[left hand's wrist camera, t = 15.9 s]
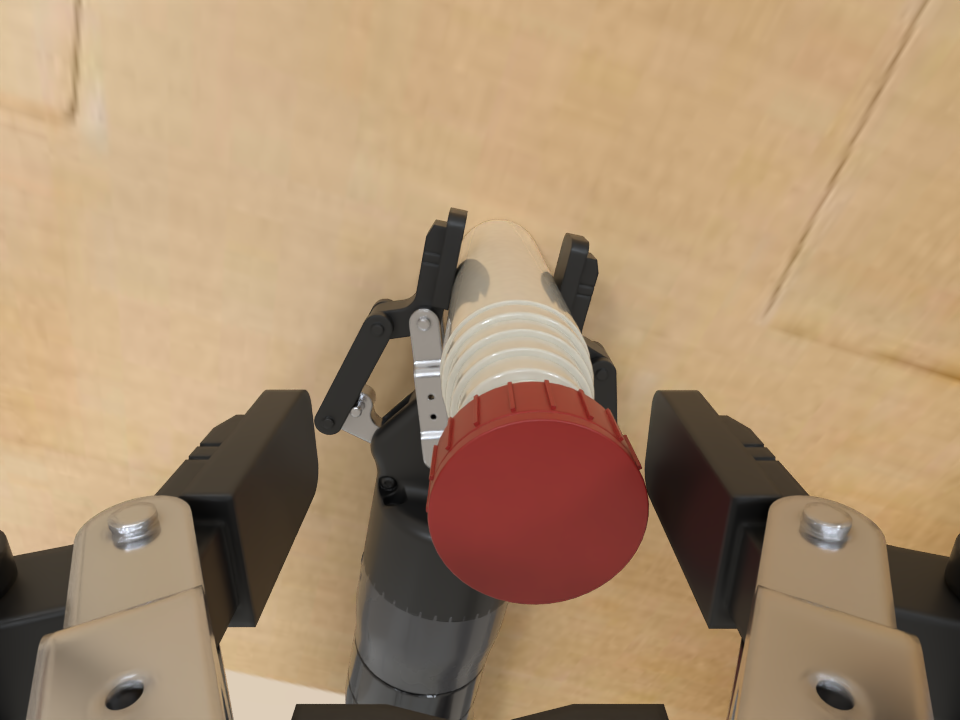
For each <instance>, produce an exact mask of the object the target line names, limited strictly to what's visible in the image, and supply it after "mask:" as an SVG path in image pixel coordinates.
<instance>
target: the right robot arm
mask: <svg viewBox="0 0 960 720" xmlns="http://www.w3.org/2000/svg"><path fill="white" fill-rule="evenodd" d="M467 212H468V211H465V210H460V209H456V208H451V209H450V212H449V216H448V221H447V222H445V221H441V220H435V222H434V224H433V225H432V227H431V228H430V230H429V232H428V234H427V236H426V241H425V246H424V252H423V258H422V263H421V269H420V275H419V280H418V286H417V292H416V293H415V294H414V295H413V296H412V297H410V298H408V299H405V300H398V301H392V300H390V299H381V300H379V301H377V302H376V303H375V304H374V306H373V308H372V310H371V312H370V313H369V315H368V317H367V318H366V320H365V321H364V323H363V325H362V327H361V329H360V331H359V333H358V335H357V337H356V339H355V341H354V343H353V345H352V346H351V348H350V350H349V352H348V354H347V356H346V358H345V360H344V362H343V364H342V366H341V368H340V370H339V372H338V373H337V375H336V377H335V379H334V381H333V383H332V385H331V387H330V389H329V391H328V393H327V395H326V397H325V399H324V401H323V402H322V404H321V406H320V408H319V410H318V412H317V414H316V416H315V419H314V423H315V426H316V428H317V429H318V430H319V431H320V432H321V433H324V434H327V435H333V434H336V433H338V432H339V431H340V430H341V429H342V430H344V431H346V432H348V433H350V434H352V435H354V436H356V437H358V438H360V439H363V440H365V441H367V442H369V443H371V452H372V455H373V457H374V459H375V462H376V465H377V479H376V485H375V490H374V496H373V502H372V508H371V514H370V520H369V525H368V531H367V537H366V543H365V549H364V552H363V555H362V560H361V562H362V566H361V571H360V577H359V583H358V589H357V597H356V629H355V634H354V640H353V646H352V651H351V657H350V663H349V669H348V675H347V682H346V704H388V705H392V706H396V707H400V708H404V709H408V710H412V711H416V712H420V713H424V714H428V715H432V716H436V717H440V718H444V719H448V720H474V710H473V703H474V700H475V697H476V693H477V690H478V687H479V683H480V680H481V676H482V673H483V669H484V666H485V662H486V659H487V656H488V654H489V652H490V650H491V648H492V646H493V644H494V642H495V640H496V638H497V635H498V633H499V630H500V627H501V624H502V621H503V618H504V615H505V611H506V608H507V605H508V602H507V601H503V600H499V599H496V598H493V597H490V596H488V595H485V594H483V593H481V592H479V591H477V590H475V589H473V588H471V587H470V586H468V585H467V584H465V583H464V582H462V581H461V580H460V579H459V578H458V577H457V576H455V575H454V574H453V573H452V572H451V571H450V569H449V568H448V567H447V566H446V565H445V564H444V562H443V561H442V559H441V558H440V556H439V555H438V553H437V551H436V549H435V547H434V544H433V542H432V539H431V535H430V532H429V526H428V512H426V504H427V497H428V490H429V482H430V480H429V475H430V467H431V460H432V453H433V447H434V445H438V442H439V439H440V437H441V435H442V433H443V431H444V429H445V428H446V426H447V424H448V415H447V411H446V406H445V404H444V400H443V397H442V390H441V378H440V363H441V357H442V351H443V344H444V338H445V326H444V316H443V311H444V309H445V310H448V309H449V304H450V299H451V293H452V288H453V284H454V279H455V274H456V269H457V264H458V259H459V254H460V249H461V244H462V239H463V234H464V229H465V224H466V218H467ZM588 251H589V242H588V241H587V240H586V239H585V238H584V237H583V236H579V235H574V234H570V233H566V234H565V237H564V239H563V243H562V247H561V250H560V254H559V258H558V262H557V266H556V269H555V273H554V277H553V278H554V280H555V282H556V284H557V286H558V288H559V290H560V292H561V294H562V296H563V298H564V300H565V302H566V304H567V306H568V308H569V310H570V312H571V314H572V316H573V318H574V320H575V322H576V324H577V326H578V328H579V330H580V332H581V334H582V329H583V325H584V322H585V318H586V315H587V311H588V308H589V304H590V301H591V296H592V294H593V290H594V286H595V283H596V280H597V277H598V264H597V259H596V258H595V257H594V256H593V255H592V254H591V253H589V252H588ZM409 336H411V344H412V352H413V360H414V382H415V390H414V391H413V392H412V393H410V394H409V395H408V396H407V397H406V398H405V399H403V400H402V401H401V402H400V403H399V404H398V405H396V406H395V407H394V408H393V409H392V410H391V411H390V412H388V413H387V414H386V415H385V416H384V417H383V418H381V417H379V416H378V415H377V414H376V412H375V410H374V403H375V400H376V394H375V392H374V390H373V389H372V388H371V387H370V386H368V385H366V382H367V380H368V378H369V376H370V375H371V373H372V371H373V369H374V367H375V365H376V363H377V362H378V360H379V358H380V356H381V354H382V352H383V350H384V349H385V347H386V345H387V343H388V341H389V339H394V338H401V337H409ZM582 336H583V335H582ZM583 338H584V340H585V342H586V344H587V347H588V350H589V354H590V360H591V363H592V367H593V374H594V400H595V401H596V402H597V403H599V404H600V405H601V406H602V407H603V408H604V409H605V410H606V409H607V408H609V409H610V410H611V412H612V415H613V417H614V419H615V421H616V423H617V380H616V369H615V367H614V365H613V363H612V362H611V360H610V358H609V356H608V355H607V353H606V351H605V349H604V348H603V346H602V345H601V344H600V343H598V342H595V341H591V340H589V339H588V338H586V337H584V336H583Z"/></svg>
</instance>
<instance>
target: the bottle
mask: <svg viewBox="0 0 960 720" xmlns="http://www.w3.org/2000/svg"><path fill="white" fill-rule="evenodd" d="M440 378H441V390H442V397H443V400H444V404H445V406H446V411H447V415H448V419H449V417H452V418H453V417H454V416H455V415H456V414H457V413H458V412H459V410H461V409H462V408H463V407H464V406H465V405H467V404H468V403H469V402H470V401H472V400H473V399H474V396H475V395H478V396H480V395H482V394H484V393H486V392H488V391H490V390H492V389H495V388H498V387H501V386H504V385H508V384H507V382H512V384H513V383H518V382H531V381H535V382H544V380H549V383H555V384H560V385H563V386H567V387H570V388H573V389H575V390H577V391H578V390H579V389H582V390H583V391H584V393H585V395H587V396H589V397H590V398H592V399H594V374H593V367H592V363H591V360H590V354H589V350H588V347H587V344H586V342H585V340H584V338H583V336H582V334H581V332H580V330H579V328H578V326H577V324H576V322H575V320H574V318H573V316H572V314H571V312H570V310H569V308H568V306H567V304H566V302H565V300H564V298H563V296H562V294H561V292H560V290H559V288H558V286H557V284H556V282H555V280H554V278H553V276H552V275H551V273H550V271H549V269H548V267H547V265H546V263H545V261H544V259H543V257H542V255H541V253H540V251H539V249H538V247H537V245H536V243H535V241H534V239H533V238H532V236H531V235H530V234H529V233H528V231H526V230H525V229H524V228H523V227H521V226H520V225H518V224H516V223H514V222H511V221H507V220H499V219H498V220H490V221H486V222H483V223H481V224H479V225H477V226H476V227H474V228H473V229H472V230H471V231H469V232H468V234H467V235H466V236H465V237H464V239H463V240H462V244H461V249H460V254H459V259H458V264H457V269H456V274H455V279H454V284H453V288H452V293H451V300H450V306H449V312H448V319H447V325H446V331H445V338H444V344H443V351H442V357H441V363H440Z"/></svg>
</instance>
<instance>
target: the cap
mask: <svg viewBox="0 0 960 720" xmlns="http://www.w3.org/2000/svg"><path fill="white" fill-rule="evenodd" d="M507 384H508V385H504V386H501V387H498V388H495V389H492V390H490V391H488V392H486V393H484V394H482V395H480V396H478V395H475V396H474V399H473V400H472V401H470V402H469V403H468V404H467V405H465V406H464V407H463V408H462V409H461V410H459V412H458V413H457V414H456V415H455V416H454V417H453V418H452V417H449V419H448V424H447V426H446V428H445V429H444V431H443V433H442V435H441V437H440V439H439V442H438V445H434V447H433V453H432V460H431V467H430V475H429V480H430V482H429V490H428V497H427V504H426V512H428V526H429V532H430V535H431V539H432V542H433V544H434V547H435V549H436V551H437V553H438V555H439V556H440V558H441V559H442V561H443V562H444V564H445V565H446V566H447V567H448V568H449V569H450V571H451V572H452V573H453V574H454V575H455V576H457V577H458V578H459V579H460V580H461V581H462V582H464V583H465V584H467V585H468V586H470V587H471V588H473V589H475V590H477V591H479V592H481V593H483V594H485V595H488V596H490V597H493V598H496V599H499V600H503V601H507V602H512V603H519V604H550V603H556V602H562V601H566V600H569V599H573V598H576V597H579V596H581V595H584V594H586V593H589V592H591V591H593V590H595V589H596V588H598V587H600V586H602V585H603V584H605V583H606V582H608V581H609V580H611V579H612V578H613V577H614V576H615V575H616V574H618V573H619V572H620V571H621V570H622V569H623V568H624V567H625V566H626V564H627V563H628V562H629V561H630V560H631V558H632V557H633V555H634V554H635V552H636V551H637V549H638V547H639V545H640V543H641V541H642V539H643V536H644V533H645V530H646V526H647V521H648V514H649V501H648V494H647V489H646V486H645V482H644V479H643V477H642V475H641V473H640V471H639V470H640V469H642V467H641V464H640V462H639V460H638V458H637V456H636V454H635V452H634V450H633V448H632V446H631V444H630V442H629V440H628V438H627V435H622V433H621V431H620V429H619V426H618V425H617V423H616V421H615V419H614V417H613V415H612V412H611V410H610V409H609V408H607V409H606V410H605V409H604V408H603V407H602V406H601V405H600V404H599V403H597V402H596V401H595V400H594V399H592V398H590V397H589V396H587V395H585V393H584V391H583V390H582V389H579V390H578V391H577V390H575V389H573V388H570V387H567V386H563V385H560V384H555V383H549V380H544V382H535V381H531V382H518V383H513V384H512V382H507Z"/></svg>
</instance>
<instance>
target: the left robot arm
mask: <svg viewBox="0 0 960 720" xmlns="http://www.w3.org/2000/svg"><path fill="white" fill-rule="evenodd" d="M317 481H318V458H317V449H316V440H315V431H314V423H313V414H312V405H311V399H310V396H309V393H308V392H307V391H306V390H265V391H264V392H263V393H262V394H261V395H260V397H259V398H258V399H257V400H256V402H255V403H254V404H253V405H252V407H251V408H250V409H249V410H248V411H247V413H246V414H245V415H235V416H233V417H232V418H230V419H228V420H227V421H225V422H223V423H221V424H220V425H218V426H216V427H215V428H213V429H212V430H211V432H210V433H209V434H208V435H207V436H206V437H205V438H204V440H203V441H202V442H201V443H200V447H197V448H196V449H195V450H194V451H193V452H192V453H191V454H190V456H189V460H185V461H184V462H183V464H182V465H181V466H180V467H179V468H178V469H177V470H176V472H175V473H174V474H173V475H172V476H171V477H170V478H169V479H168V481H167V482H166V483H165V484H164V485H163V486H162V487H161V489H160V490H159V491H158V492H157V493H156V494H155V495H154V496H147V497H141V498H136V499H132V500H129V501H125V502H122V503H120V504H117V505H115V506H112V507H110V508H108V509H106V510H104V511H102V512H101V513H99V514H97V515H96V516H94V517H93V518H91V519H90V520H89V521H88V522H87V523H85V524H84V525H83V526H82V528H81V529H80V530H79V531H78V533H77V535H76V537H75V540H74V544H73V545H69V546H64V547H58V548H53V549H48V550H43V551H38V552H33V553H27V554H22V555H17V556H13V555H12V552H11V549H10V546H9V543H8V541H7V538H6V535H5V534H4V533H3V532H2V531H1V530H0V720H234V719H233V713H232V708H231V702H230V697H229V691H228V685H227V680H226V674H225V669H224V663H223V657H222V653H221V648H220V641H221V639H222V637H223V635H224V633H225V631H226V629H227V627H256V625H257V623H258V620H259V618H260V616H261V614H262V611H263V609H264V607H265V605H266V602H267V600H268V598H269V596H270V593H271V591H272V589H273V587H274V584H275V582H276V580H277V578H278V575H279V573H280V571H281V569H282V567H283V564H284V562H285V560H286V558H287V555H288V553H289V551H290V549H291V546H292V544H293V542H294V540H295V537H296V535H297V533H298V531H299V528H300V526H301V524H302V522H303V520H304V517H305V515H306V513H307V511H308V508H309V506H310V504H311V502H312V499H313V497H314V495H315V492H316V487H317ZM645 482H646V488H647V492H648V495H649V498H650V500H651V502H652V504H653V506H654V509H655V511H656V513H657V515H658V518H659V520H660V522H661V524H662V526H663V529H664V531H665V533H666V535H667V537H668V540H669V542H670V544H671V546H672V548H673V551H674V553H675V555H676V557H677V559H678V562H679V564H680V566H681V568H682V570H683V573H684V575H685V577H686V579H687V581H688V584H689V586H690V588H691V590H692V592H693V595H694V597H695V599H696V601H697V603H698V606H699V608H700V610H701V612H702V614H703V617H704V619H705V621H706V623H707V625H708V628H709V629H738V631H739V633H740V635H741V637H742V639H741V643H740V648H739V653H738V657H737V663H736V669H735V674H734V680H733V685H732V691H731V697H730V702H729V708H728V713H727V719H726V720H960V534H959V535H958V536H957V538H956V541H955V544H954V546H953V549H952V552H951V555H950V557H946V556H941V555H936V554H930V553H925V552H920V551H915V550H910V549H905V548H900V547H895V546H891V545H886V540H885V537H884V535H883V533H882V531H881V530H880V529H879V528H878V526H877V525H876V524H875V523H873V522H872V521H871V520H870V519H869V518H867V517H866V516H864V515H863V514H861V513H859V512H858V511H856V510H854V509H852V508H850V507H848V506H845V505H843V504H840V503H838V502H835V501H831V500H828V499H824V498H819V497H813V496H809V495H808V493H807V492H806V491H805V490H804V489H803V488H802V487H801V486H800V484H799V483H798V482H797V481H796V480H795V479H794V478H793V477H792V475H791V474H790V473H789V472H788V471H787V470H786V469H785V468H784V466H783V465H782V464H781V463H780V462H779V461H776V460H775V456H774V455H773V454H772V453H771V452H770V451H769V450H768V448H767V447H764V444H763V443H762V442H761V440H760V439H759V438H758V437H757V436H756V435H755V434H754V433H753V431H752V430H751V429H750V428H748V427H746V426H744V425H743V424H741V423H739V422H738V421H736V420H734V419H732V418H731V417H729V416H719V415H718V414H717V413H716V411H715V410H714V409H713V408H712V406H711V405H710V404H709V403H708V402H707V400H706V399H705V398H704V397H703V395H702V394H701V393H700V392H699V391H697V390H658V391H656V393H655V395H654V397H653V401H652V408H651V416H650V425H649V433H648V442H647V450H646V459H645ZM291 720H448V719H444V718H440V717H436V716H432V715H428V714H424V713H420V712H416V711H412V710H408V709H404V708H400V707H396V706H392V705H388V704H296V707H295V710H294V713H293V716H292V719H291ZM512 720H669V719H668V716H667V713H666V710H665V707H664V704H572V705H568V706H564V707H560V708H556V709H552V710H548V711H544V712H540V713H536V714H532V715H528V716H524V717H520V718H516V719H512Z"/></svg>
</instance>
